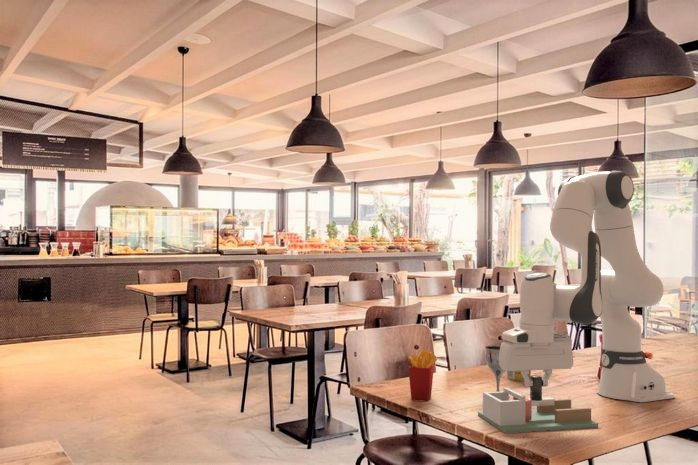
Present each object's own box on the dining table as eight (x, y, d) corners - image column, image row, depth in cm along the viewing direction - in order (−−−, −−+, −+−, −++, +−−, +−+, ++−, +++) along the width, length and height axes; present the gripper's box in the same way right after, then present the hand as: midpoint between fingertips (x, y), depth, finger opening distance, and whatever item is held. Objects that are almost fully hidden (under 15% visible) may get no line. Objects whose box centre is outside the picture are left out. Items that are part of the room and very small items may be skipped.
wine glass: (512, 394, 191) (512, 346, 191) (510, 400, 183) (510, 350, 183) (486, 392, 193) (486, 344, 193) (483, 398, 186) (483, 348, 186)
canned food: (535, 379, 212) (535, 344, 212) (517, 381, 209) (517, 346, 209) (519, 374, 219) (519, 341, 219) (502, 376, 216) (502, 342, 216)
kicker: (546, 412, 166) (546, 373, 166) (559, 418, 161) (559, 378, 161) (513, 414, 164) (513, 374, 164) (524, 420, 158) (524, 379, 158)
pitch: (563, 410, 173) (563, 382, 173) (598, 427, 157) (598, 396, 158) (478, 415, 167) (478, 386, 167) (505, 433, 152) (505, 401, 152)
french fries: (407, 400, 183) (407, 349, 183) (414, 393, 190) (414, 345, 191) (436, 403, 179) (436, 352, 180) (442, 396, 187) (442, 347, 187)
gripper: (564, 331, 168) (564, 382, 168) (496, 333, 163) (495, 385, 163) (578, 335, 162) (578, 387, 162) (507, 336, 157) (507, 390, 157)
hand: (536, 386), depth 162 cm, fingers closed on kicker, 3 cm apart
